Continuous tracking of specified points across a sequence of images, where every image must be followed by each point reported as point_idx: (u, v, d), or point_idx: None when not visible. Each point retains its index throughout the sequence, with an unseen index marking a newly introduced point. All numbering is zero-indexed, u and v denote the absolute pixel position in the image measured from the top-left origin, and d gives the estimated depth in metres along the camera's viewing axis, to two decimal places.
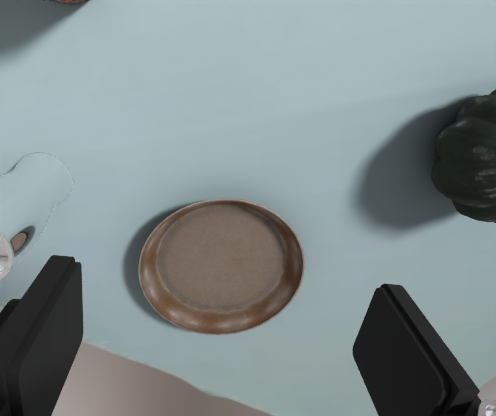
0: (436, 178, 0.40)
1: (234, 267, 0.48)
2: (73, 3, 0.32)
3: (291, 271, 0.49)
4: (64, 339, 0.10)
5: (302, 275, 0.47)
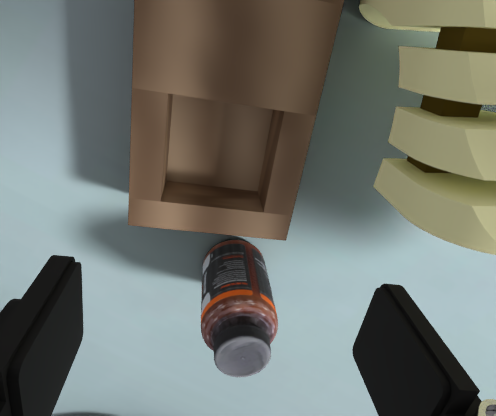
0: None
1: None
2: None
3: None
4: (64, 339, 0.10)
5: None
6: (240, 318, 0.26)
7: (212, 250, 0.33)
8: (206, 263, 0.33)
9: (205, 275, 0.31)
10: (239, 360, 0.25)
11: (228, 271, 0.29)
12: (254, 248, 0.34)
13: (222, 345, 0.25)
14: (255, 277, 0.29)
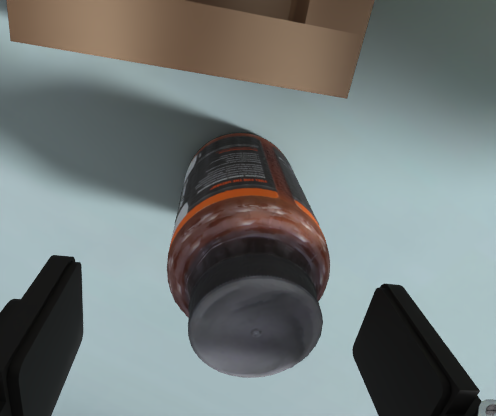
0: None
1: None
2: None
3: None
4: (64, 339, 0.10)
5: None
6: (252, 243, 0.11)
7: (201, 149, 0.19)
8: (189, 168, 0.18)
9: (185, 184, 0.17)
10: (248, 337, 0.11)
11: (228, 166, 0.15)
12: (276, 148, 0.19)
13: (205, 299, 0.10)
14: (282, 178, 0.15)
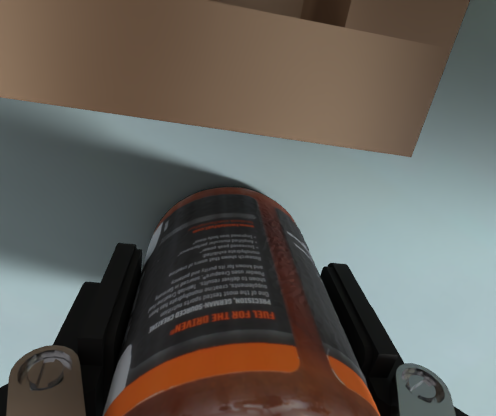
0: None
1: None
2: None
3: None
4: None
5: None
6: None
7: (170, 213, 0.12)
8: (150, 247, 0.12)
9: (141, 280, 0.10)
10: None
11: (206, 269, 0.09)
12: (281, 209, 0.13)
13: None
14: (299, 290, 0.09)
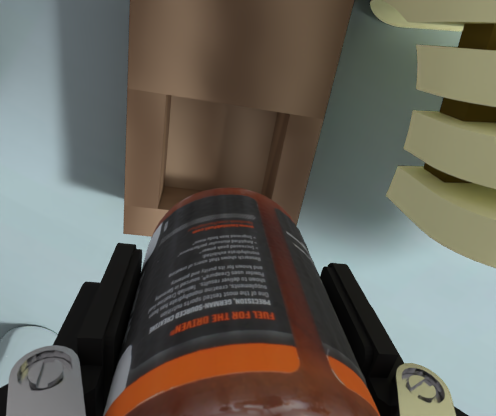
0: None
1: None
2: None
3: None
4: None
5: None
6: None
7: (169, 213, 0.13)
8: (150, 247, 0.12)
9: (140, 281, 0.10)
10: None
11: (206, 270, 0.09)
12: (280, 209, 0.13)
13: None
14: (299, 290, 0.09)
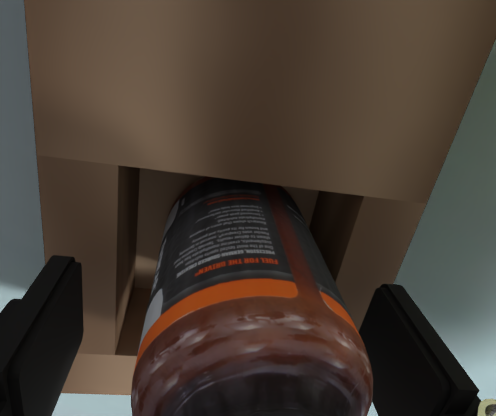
0: None
1: None
2: None
3: None
4: (64, 339, 0.10)
5: None
6: (262, 386, 0.07)
7: (185, 192, 0.14)
8: (169, 220, 0.14)
9: (163, 246, 0.12)
10: None
11: (221, 230, 0.10)
12: (282, 189, 0.15)
13: None
14: (297, 247, 0.10)
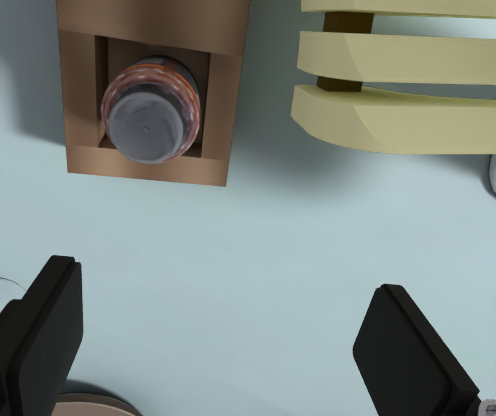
0: None
1: None
2: None
3: None
4: (64, 339, 0.10)
5: None
6: (144, 86, 0.20)
7: None
8: None
9: None
10: (141, 132, 0.20)
11: (140, 61, 0.24)
12: (183, 64, 0.28)
13: (115, 106, 0.19)
14: (174, 67, 0.24)
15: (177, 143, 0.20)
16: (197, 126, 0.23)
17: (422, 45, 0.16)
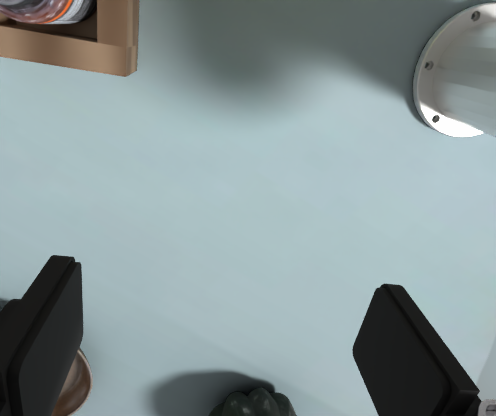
0: None
1: None
2: None
3: (64, 403, 0.52)
4: (64, 339, 0.10)
5: (69, 415, 0.51)
6: None
7: None
8: None
9: None
10: None
11: None
12: None
13: None
14: None
15: None
16: None
17: None
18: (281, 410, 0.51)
